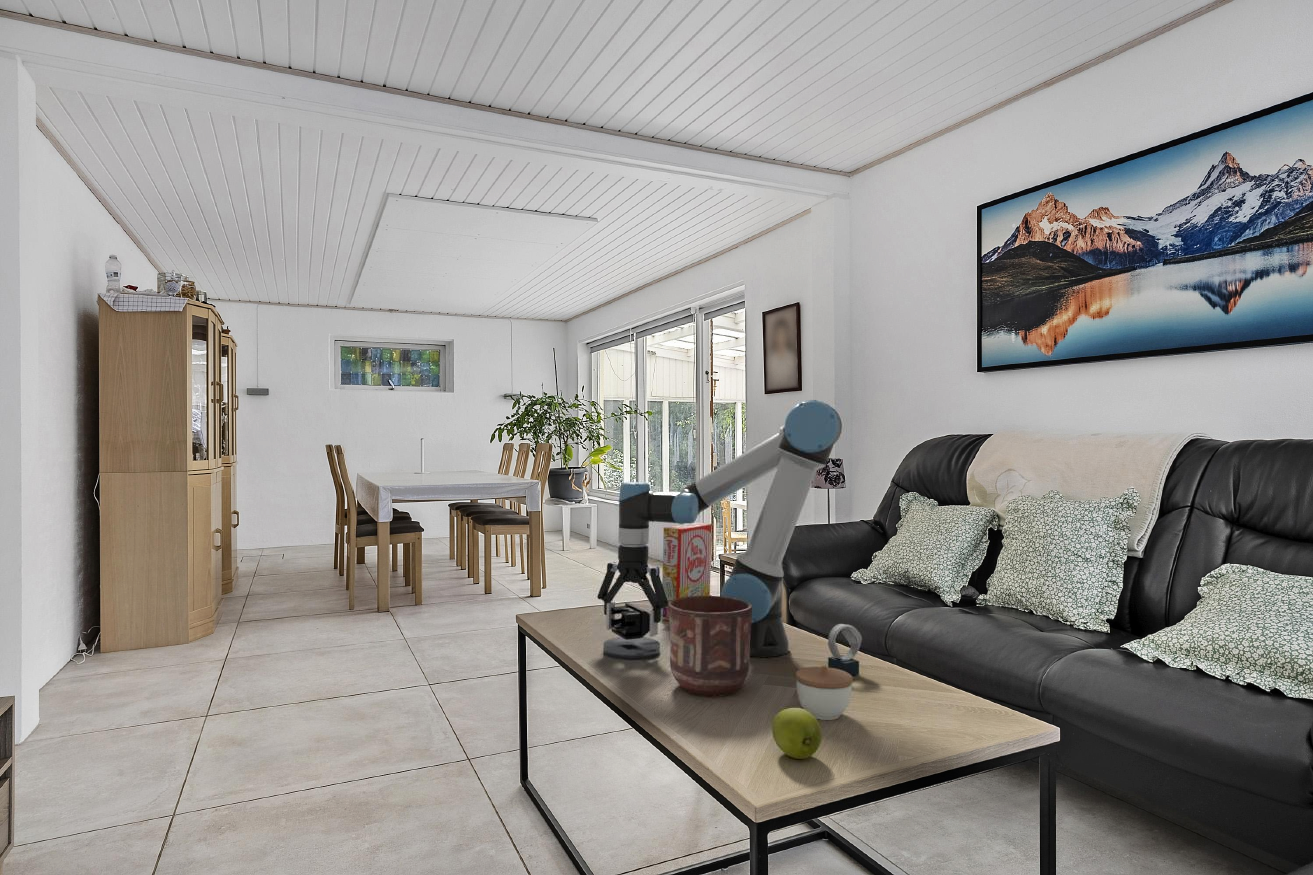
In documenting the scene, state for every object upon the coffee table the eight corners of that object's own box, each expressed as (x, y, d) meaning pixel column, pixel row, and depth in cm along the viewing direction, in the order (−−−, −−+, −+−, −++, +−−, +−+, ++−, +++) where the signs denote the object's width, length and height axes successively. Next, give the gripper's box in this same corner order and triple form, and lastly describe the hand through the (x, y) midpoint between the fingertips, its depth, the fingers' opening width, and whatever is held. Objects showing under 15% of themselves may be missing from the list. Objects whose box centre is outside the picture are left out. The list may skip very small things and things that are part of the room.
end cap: (652, 637, 189) (653, 609, 189) (626, 640, 186) (627, 612, 186) (635, 628, 198) (636, 601, 198) (610, 630, 195) (610, 603, 195)
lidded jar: (841, 728, 143) (842, 677, 143) (786, 716, 148) (787, 668, 148) (859, 711, 152) (860, 664, 152) (807, 701, 158) (808, 655, 158)
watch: (865, 673, 177) (866, 625, 177) (838, 678, 173) (839, 629, 173) (848, 667, 182) (849, 620, 182) (821, 671, 178) (822, 623, 178)
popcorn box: (678, 622, 224) (680, 528, 224) (660, 619, 227) (661, 527, 227) (710, 609, 241) (711, 522, 241) (692, 607, 244) (694, 521, 244)
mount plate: (669, 649, 195) (669, 641, 195) (642, 662, 182) (642, 654, 182) (622, 641, 202) (622, 633, 202) (592, 654, 189) (592, 645, 189)
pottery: (706, 669, 178) (706, 591, 178) (767, 688, 165) (768, 603, 165) (650, 687, 166) (651, 603, 165) (712, 708, 153) (713, 617, 153)
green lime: (793, 771, 124) (794, 721, 124) (762, 750, 132) (762, 703, 132) (832, 763, 127) (833, 714, 127) (799, 743, 136) (800, 697, 136)
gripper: (683, 547, 189) (681, 635, 190) (600, 539, 201) (599, 622, 201) (669, 550, 183) (667, 642, 183) (584, 542, 195) (582, 628, 195)
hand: (631, 631), depth 192 cm, fingers closed on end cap, 12 cm apart
